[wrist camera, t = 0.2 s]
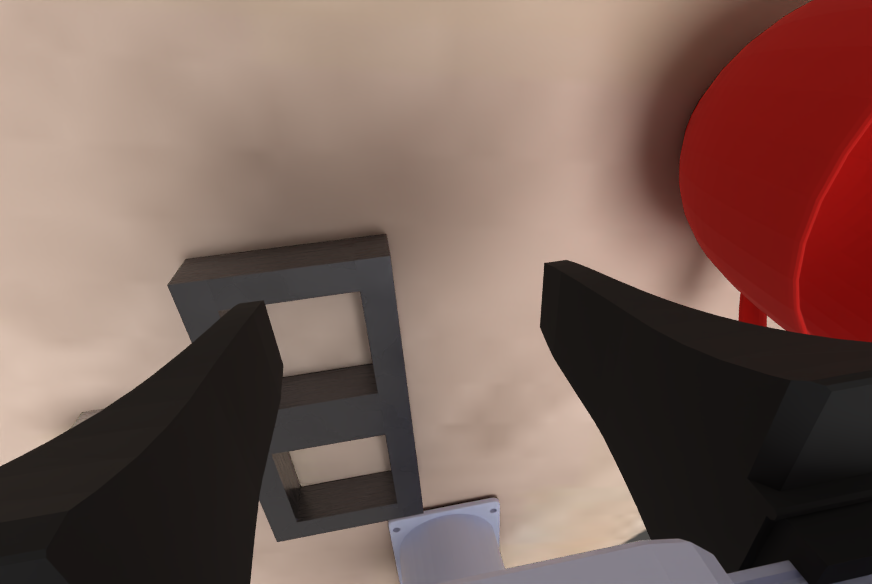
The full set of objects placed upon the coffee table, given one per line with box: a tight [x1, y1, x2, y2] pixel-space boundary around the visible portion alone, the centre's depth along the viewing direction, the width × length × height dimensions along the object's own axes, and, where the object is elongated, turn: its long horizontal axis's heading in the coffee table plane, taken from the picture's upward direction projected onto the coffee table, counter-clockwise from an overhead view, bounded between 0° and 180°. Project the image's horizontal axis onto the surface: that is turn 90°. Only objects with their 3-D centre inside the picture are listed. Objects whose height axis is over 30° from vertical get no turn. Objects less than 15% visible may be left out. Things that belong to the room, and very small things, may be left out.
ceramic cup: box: [679, 0, 872, 342], centre depth 18 cm, size 13×17×10 cm
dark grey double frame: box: [167, 234, 424, 542], centre depth 24 cm, size 18×9×2 cm, turn 3°
